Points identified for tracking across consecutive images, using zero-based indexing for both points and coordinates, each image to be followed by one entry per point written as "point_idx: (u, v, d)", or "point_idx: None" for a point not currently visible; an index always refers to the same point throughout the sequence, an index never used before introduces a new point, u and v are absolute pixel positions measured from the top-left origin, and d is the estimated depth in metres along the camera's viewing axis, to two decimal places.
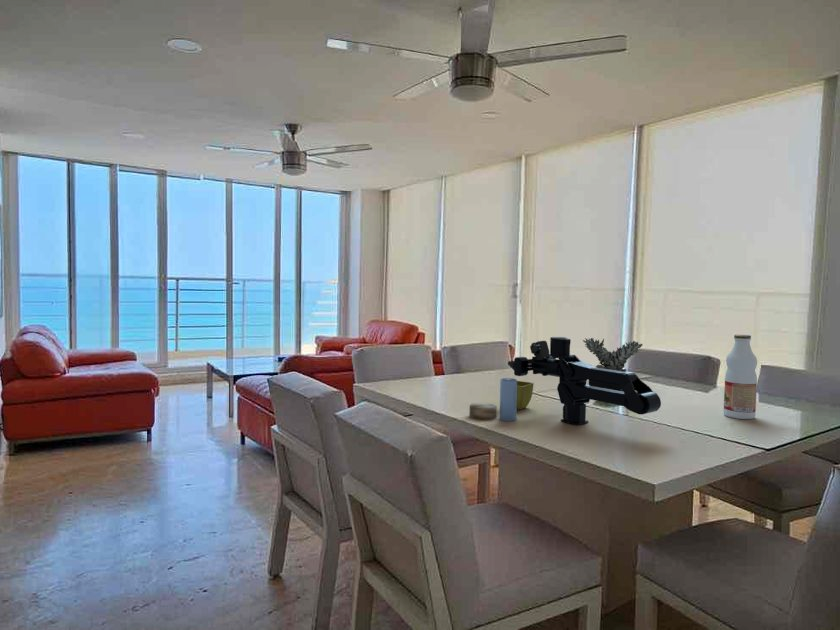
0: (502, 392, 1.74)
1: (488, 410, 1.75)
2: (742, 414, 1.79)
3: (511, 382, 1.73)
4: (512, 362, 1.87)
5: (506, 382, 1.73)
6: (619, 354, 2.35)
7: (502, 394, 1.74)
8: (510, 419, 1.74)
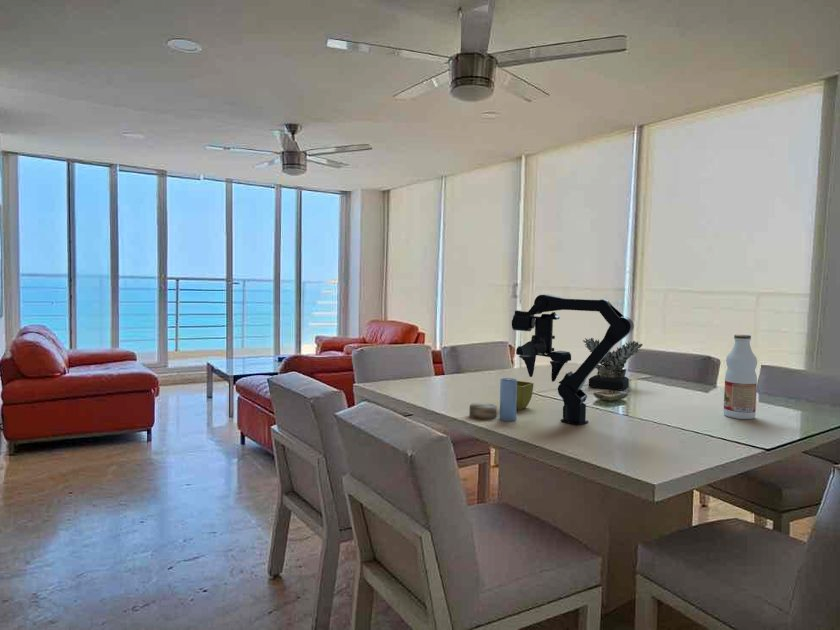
0: (502, 392, 1.74)
1: (488, 410, 1.75)
2: (742, 414, 1.79)
3: (511, 382, 1.73)
4: (555, 372, 1.73)
5: (506, 382, 1.73)
6: (619, 354, 2.35)
7: (502, 394, 1.74)
8: (510, 419, 1.74)
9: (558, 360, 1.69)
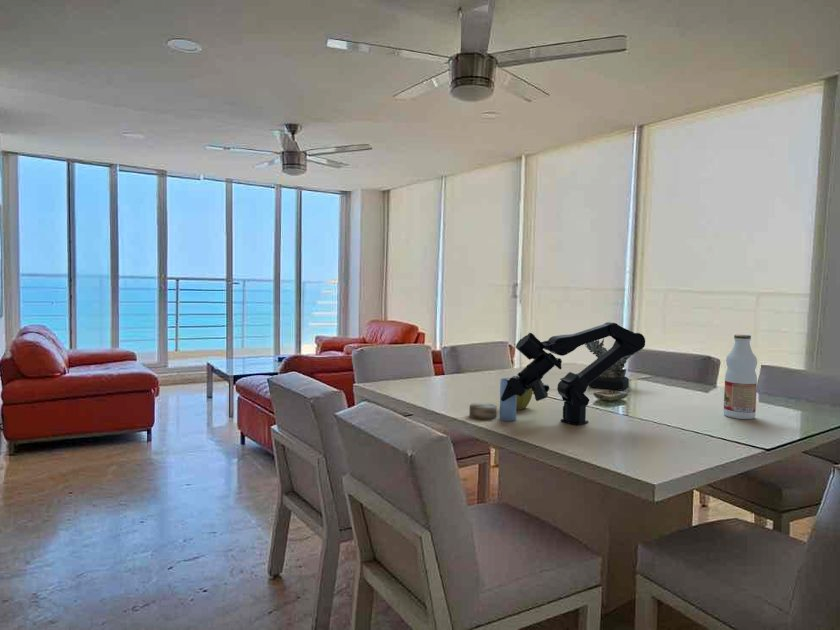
0: (502, 392, 1.74)
1: (488, 410, 1.75)
2: (742, 414, 1.79)
3: None
4: None
5: (506, 382, 1.73)
6: None
7: (502, 394, 1.74)
8: (510, 419, 1.74)
9: None
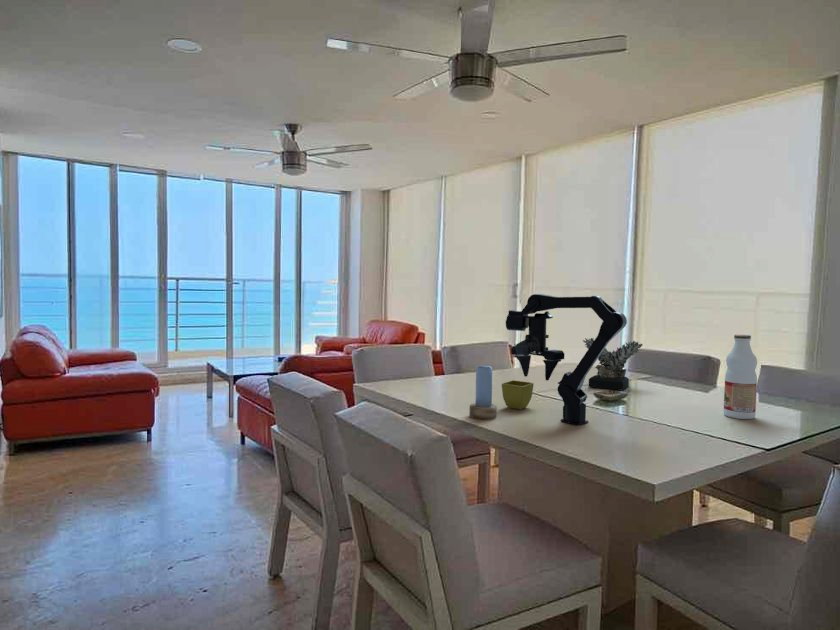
0: (477, 379, 1.78)
1: (488, 410, 1.75)
2: (742, 414, 1.79)
3: (486, 369, 1.76)
4: (548, 371, 1.74)
5: (481, 369, 1.76)
6: (619, 354, 2.35)
7: (477, 381, 1.78)
8: (485, 405, 1.77)
9: (551, 358, 1.70)
